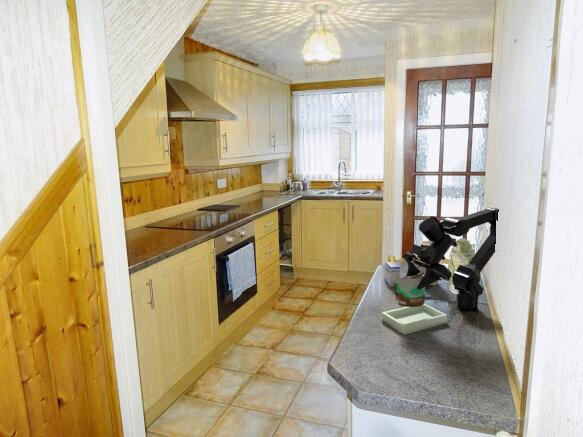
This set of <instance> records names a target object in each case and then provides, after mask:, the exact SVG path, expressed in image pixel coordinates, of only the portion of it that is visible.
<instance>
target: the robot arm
mask: <svg viewBox="0 0 583 437" xmlns="http://www.w3.org/2000/svg"><path fill="white" fill-rule="evenodd" d="M499 210H500V209H499V208H495V207H486V208H484V209H483V210H479V211H476V212H474V213H470V214H467V215H464V216H449V217H446V218H444V219H443V220H442V221H439V218H437V217H436V216H433V215H431V216H430V217H428V218H425V219H424V220H423V221H421V222H420V223H419V225H418V231H419V232H420V233H421V234H422V235H423V236H424V237H425V238H426V239H427V241H433V242H432V243H431V244H430V246H428V245H426V246H425V247H421V245H417V244H415V243H412V246H411V248H410V251H409V252H405V253H404V254H403V255H402V257H401V258H402V259H403V260H404V261H405V263H407V267H408V268H407V271H406V272H407V273H406V275H405V277H407V276H410V275H419V273H420V272H421V271H420V270H419V268H420V266H421V267H424V268H426V274H425V276H424V277H423V279H422V280H421V282H420V283H419V285H418V287H417V288H418V289H419V290H420V289H422V288H424V287H426V286H428V285H430V284H432V283H434V282H436V281H438V282H439V281H440V282H441V281H442V280H445V281H450V280H452V284H453V287H454V290H455V291H457V294H456V298H455V299H456V300H455V304H456V307H457V308H458V310H459V311H461V312H479V310H480V309H479V308H478V306H479V305H478V304H479V297H480V296H481V295H483V293H484V289H485V288H484V287H482V285H481V284H480V282H481V273H482V271H483V270H484V268H485V267H486V266H487V264H488V263H489V261H490V260H491V258H493V256H494V254H495V253H496V251H495V244H496V220H497V221H498V212H499ZM486 223H488V224H489V225H490V226H489V235H488V236H487V238H486V239H485V240H484V242H483V243H482V244H481V246H480V247H479V248H478V249H477V251H476V252H475V254H474V255H473V256H472V258H471V259H470V261H469V262H468V263H467V264H466V265H463V264H459V265H458V267H457V268H456V270H455V271H454V272H453V275H452V271H450V270H449V268H448V267H447V266H446V265H445V264H443V263H440V262H441V261H445V260H446V256H445V255H446V254H447V252H448V251H449V250H450V248H451V247H454V248H457V247H458V243H457V239H456V238H454V237H458V238H459V237H463V236H464V235H465V234H467V233H469V232H470V230H471V229H473V228H475V227H478V226H481V225H484V224H486ZM452 236H454V237H452ZM419 258H420V260H419ZM423 264H424V265H423Z"/></svg>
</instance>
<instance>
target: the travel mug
mask: <svg viewBox="0 0 583 437" xmlns="http://www.w3.org/2000/svg"><path fill="white" fill-rule="evenodd" d="M432 242H433V241H429V240H422V241H420V242H419V245H420V246H421V247H425V246H426V245H428V246H430V244H431V243H432ZM418 259H419V260H420V258H418ZM423 265H424V264H423ZM418 269H419V270H420V271H421V272H420V273H419V274H422V271H423V272H425V273H426V268H424V267H421V266H420V268H418ZM419 274H418V275H419ZM438 284H439V280H438V281H436V282H434V283H432V284H430V285H433V287H435V286H437V285H438Z"/></svg>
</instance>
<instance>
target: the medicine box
mask: <svg viewBox="0 0 583 437" xmlns="http://www.w3.org/2000/svg"><path fill="white" fill-rule="evenodd" d="M396 277H398V278H401V266H400V265H399V264H398V263H396V262H395V261H385V262H384V281H385V283H386V284H387V285H388V286H389V287H396V286H395V285H394V282H395V279H396Z"/></svg>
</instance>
